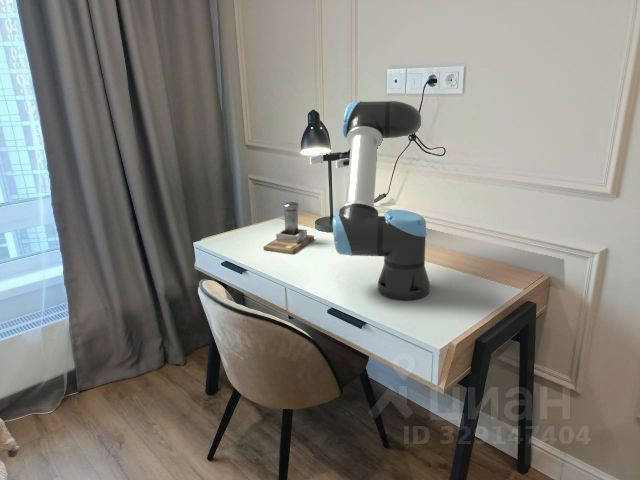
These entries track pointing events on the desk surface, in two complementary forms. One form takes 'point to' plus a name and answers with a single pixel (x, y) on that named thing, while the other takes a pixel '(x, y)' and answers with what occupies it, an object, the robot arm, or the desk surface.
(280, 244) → the base
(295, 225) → the grey capped canister
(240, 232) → the desk surface
